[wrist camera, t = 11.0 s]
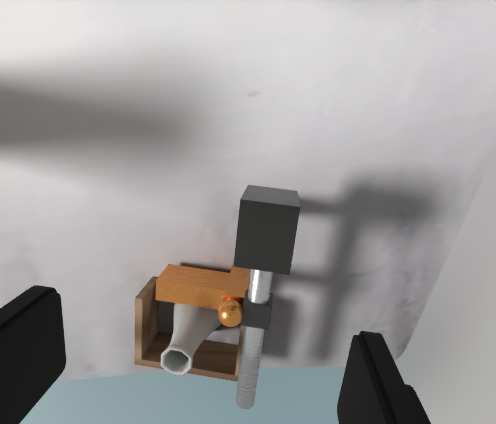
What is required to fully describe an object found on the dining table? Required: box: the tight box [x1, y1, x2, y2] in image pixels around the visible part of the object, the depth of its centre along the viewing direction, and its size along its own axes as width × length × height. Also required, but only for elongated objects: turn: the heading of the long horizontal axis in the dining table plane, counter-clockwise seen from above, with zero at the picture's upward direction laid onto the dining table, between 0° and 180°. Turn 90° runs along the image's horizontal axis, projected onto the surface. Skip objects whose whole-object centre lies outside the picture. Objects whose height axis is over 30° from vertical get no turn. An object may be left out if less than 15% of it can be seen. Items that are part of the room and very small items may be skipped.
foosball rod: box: [156, 185, 300, 409], centre depth 31 cm, size 23×13×13 cm, turn 174°
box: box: [135, 277, 244, 382], centre depth 39 cm, size 9×13×5 cm
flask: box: [161, 303, 222, 376], centre depth 36 cm, size 7×7×10 cm
